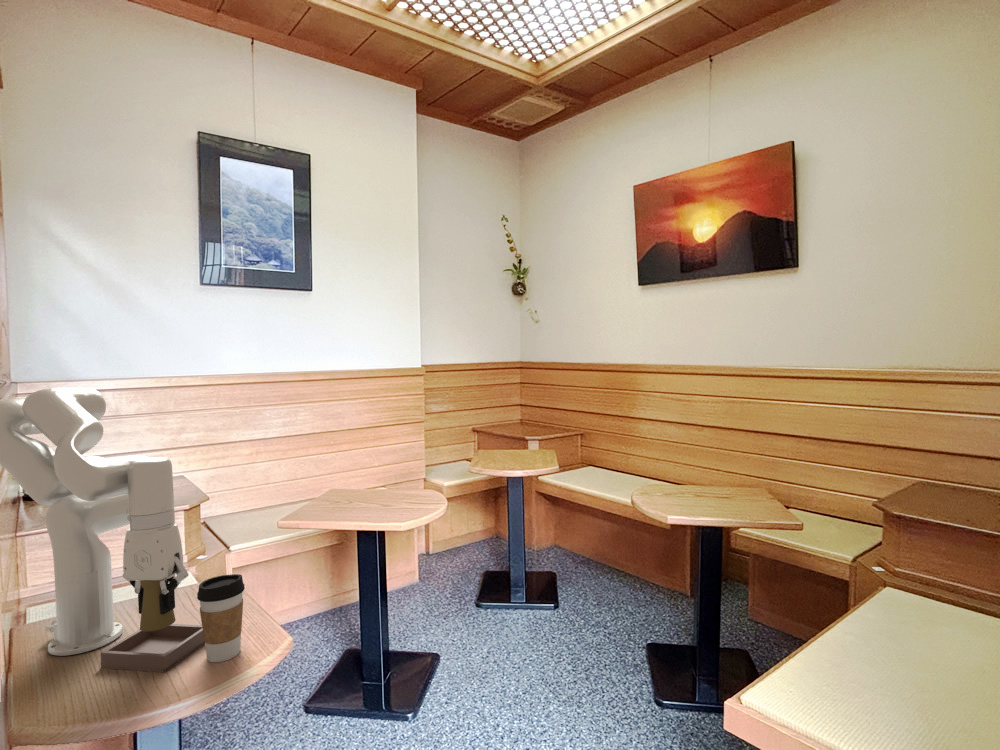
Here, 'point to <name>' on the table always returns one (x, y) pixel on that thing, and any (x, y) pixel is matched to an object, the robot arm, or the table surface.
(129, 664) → the lacquer tray
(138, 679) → the table surface
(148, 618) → the tan tall rounded piece
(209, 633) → the coffee cup
